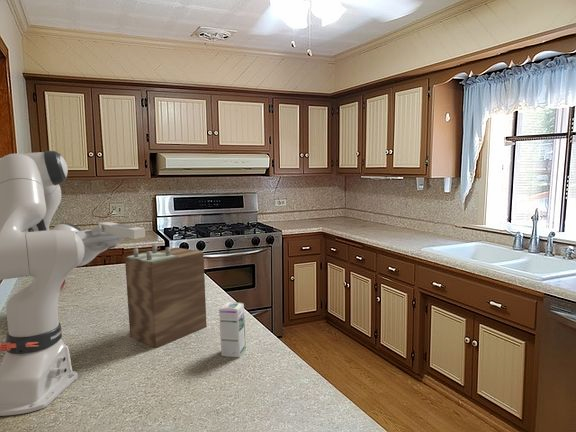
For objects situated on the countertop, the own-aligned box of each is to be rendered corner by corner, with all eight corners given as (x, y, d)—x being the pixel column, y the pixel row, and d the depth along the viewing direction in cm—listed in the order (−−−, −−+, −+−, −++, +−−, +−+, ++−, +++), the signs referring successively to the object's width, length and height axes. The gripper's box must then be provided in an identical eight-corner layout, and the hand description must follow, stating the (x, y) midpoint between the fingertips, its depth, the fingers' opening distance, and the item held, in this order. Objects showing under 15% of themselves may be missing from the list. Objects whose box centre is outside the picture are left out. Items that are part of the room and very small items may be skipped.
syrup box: (240, 358, 120) (238, 309, 118) (220, 356, 121) (218, 307, 119) (246, 349, 125) (244, 302, 123) (227, 347, 126) (225, 301, 125)
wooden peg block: (206, 326, 143) (203, 243, 139) (156, 348, 127) (151, 254, 123) (180, 318, 151) (176, 239, 147) (130, 337, 135) (124, 248, 132)
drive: (145, 237, 138) (144, 227, 138) (134, 238, 135) (133, 229, 135) (109, 230, 152) (108, 221, 151) (98, 231, 149) (98, 222, 148)
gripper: (62, 238, 148) (77, 221, 140) (115, 230, 164) (132, 215, 156) (67, 255, 147) (83, 238, 139) (121, 245, 163) (137, 230, 155)
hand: (109, 226), depth 148 cm, fingers closed on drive, 4 cm apart
